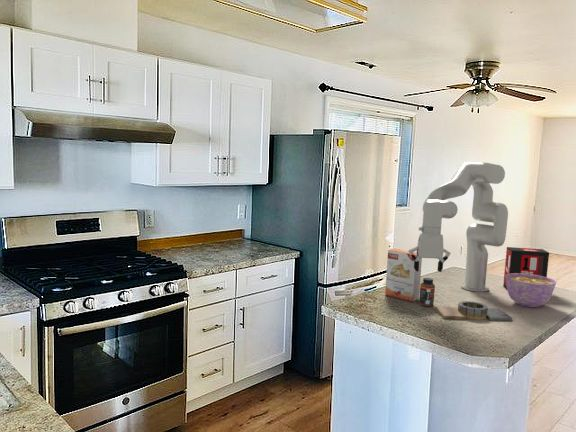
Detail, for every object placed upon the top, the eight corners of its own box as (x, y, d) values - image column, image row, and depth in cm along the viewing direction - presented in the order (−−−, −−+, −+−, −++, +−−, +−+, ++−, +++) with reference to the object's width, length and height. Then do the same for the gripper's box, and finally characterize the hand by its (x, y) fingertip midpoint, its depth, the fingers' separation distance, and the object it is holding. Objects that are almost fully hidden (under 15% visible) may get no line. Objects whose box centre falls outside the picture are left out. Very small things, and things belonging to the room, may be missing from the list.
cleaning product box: (508, 291, 235) (511, 250, 233) (503, 286, 244) (506, 247, 241) (544, 294, 232) (549, 252, 230) (538, 289, 241) (542, 249, 239)
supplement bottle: (431, 307, 204) (433, 281, 203) (417, 305, 207) (418, 279, 206) (435, 304, 209) (437, 278, 208) (421, 301, 212) (423, 276, 211)
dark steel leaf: (464, 319, 191) (465, 309, 190) (453, 309, 203) (454, 300, 202) (512, 320, 191) (513, 311, 191) (498, 311, 203) (499, 301, 202)
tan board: (443, 318, 191) (444, 313, 190) (434, 309, 202) (434, 304, 202) (491, 320, 191) (492, 315, 191) (479, 310, 203) (479, 305, 203)
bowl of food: (513, 295, 228) (515, 271, 227) (560, 305, 214) (562, 279, 213) (495, 303, 214) (497, 277, 213) (544, 315, 200) (547, 287, 199)
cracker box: (384, 295, 221) (387, 249, 218) (391, 292, 225) (394, 248, 223) (412, 302, 211) (416, 254, 209) (419, 299, 216) (422, 252, 213)
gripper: (413, 230, 201) (409, 271, 202) (455, 232, 201) (451, 273, 203) (408, 228, 208) (405, 268, 210) (448, 230, 208) (445, 270, 210)
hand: (428, 270), depth 206 cm, fingers open, 9 cm apart
